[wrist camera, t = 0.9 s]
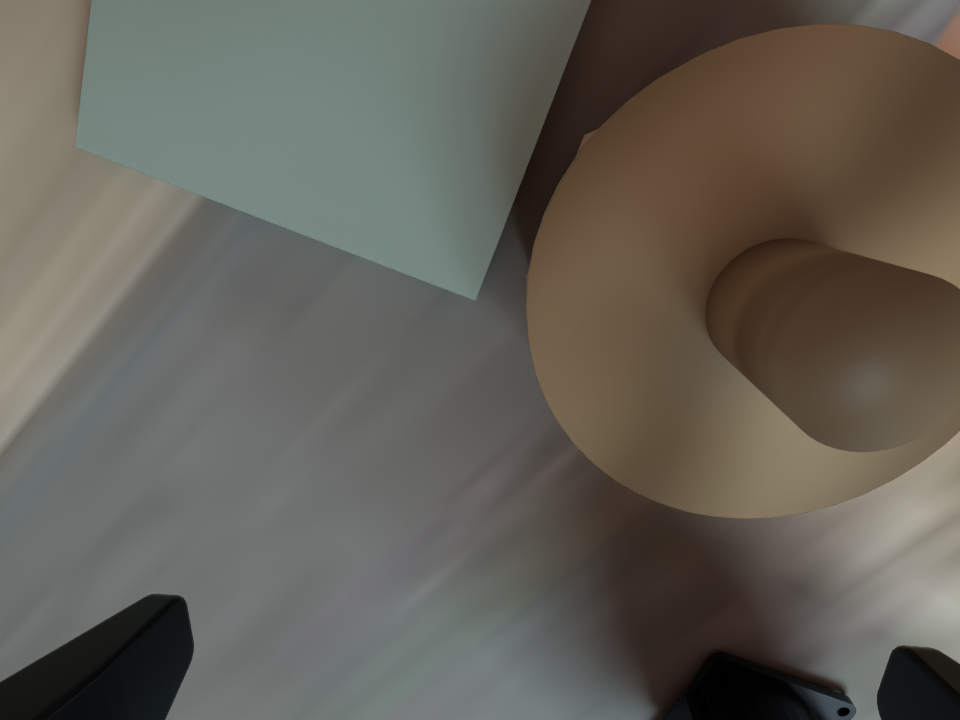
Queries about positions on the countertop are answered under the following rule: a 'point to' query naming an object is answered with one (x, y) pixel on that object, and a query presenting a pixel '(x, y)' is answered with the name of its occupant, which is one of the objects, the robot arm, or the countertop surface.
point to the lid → (760, 275)
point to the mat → (336, 114)
